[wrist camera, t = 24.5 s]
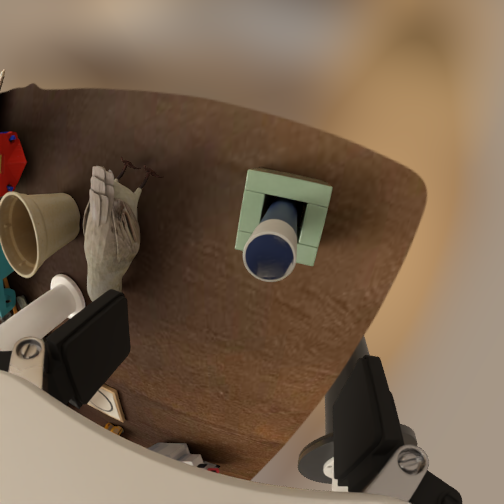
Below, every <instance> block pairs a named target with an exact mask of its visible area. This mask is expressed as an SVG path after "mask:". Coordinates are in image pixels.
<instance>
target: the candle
mask: <svg viewBox="0 0 504 504" xmlns="http://www.w3.org/2000/svg"><path fill="white" fill-rule="evenodd" d="M84 308H85V300H84V297H83V295H82V292H81V291H80V289H79V287H78V286H77V284H76V283H75V282H74V281H73V280H72V279H71V278H70V277H68V276H66V275H64V274H58V275H56V276H55V277H54V278H53V279H52V281H51V290H49V291H48V292H46V293H45V294H43V295H42V296H40V297H39V298H37V299H36V300H35V301H33V302H32V303H30V304H29V305H27V306H26V307H24V308H23V309H22V310H20V311H19V312H17V313H16V314H15V315H13V316H12V317H10V318H9V319H8V320H6V321H5V322H4V323H2V324H1V325H0V351H12V350H13V347H14V344H15V343H16V342H17V341H18V340H20V339H21V338H24V337H29V336H32V337H37V338H39V339H42V338H43V337H44V336H45V335H47V334H48V333H49V332H50V331H51V330H53V329H54V328H55V327H56V326H57V325H59V324H60V323H61V322H62V321H63V320H65V319H66V318H67V317H68V318H70V319H71V318H72V317H73V316H74V315H76V314H77V313H78V312H80V311H81V310H82V309H84Z"/></svg>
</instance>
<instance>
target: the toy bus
mask: <svg viewBox="0 0 504 504" xmlns="http://www.w3.org/2000/svg"><path fill="white" fill-rule="evenodd" d="M104 428H105V429H107V430H109V431H111V432H113V433H115V434H117V435H120V434H121V433H123V432H124V431H123V428H121V427H120V426H117V427H116V426H114V425H112V424H111V423H107V424H106V426H105V427H104Z"/></svg>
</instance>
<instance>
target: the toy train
mask: <svg viewBox="0 0 504 504" xmlns="http://www.w3.org/2000/svg"><path fill="white" fill-rule="evenodd" d="M12 135H13V136H12ZM10 140H12V142H11V143H10ZM26 163H27V161H26V158H25V155H24V152H23V149H22V146H21V143H20V140H19V139H18V136H17V133H16V132H12V131H10V132H9V131H8V132H0V197H1V196H4V195H5V194H6V193H8V192H12V191H14V190H15V186H16V185H17V183H18V181H19V179H20V176H21V174H22V172H23V170H24V168H25V166H26ZM9 184H10V186H7V185H9Z"/></svg>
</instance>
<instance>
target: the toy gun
mask: <svg viewBox="0 0 504 504" xmlns="http://www.w3.org/2000/svg"><path fill="white" fill-rule="evenodd" d="M10 316H11V313H10V312H8V313H7V314H6V315H5V316H4V317H2V318H1V316H0V320H1V321H2V322H5V321H6V320H8V319H9V318H10Z"/></svg>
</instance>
